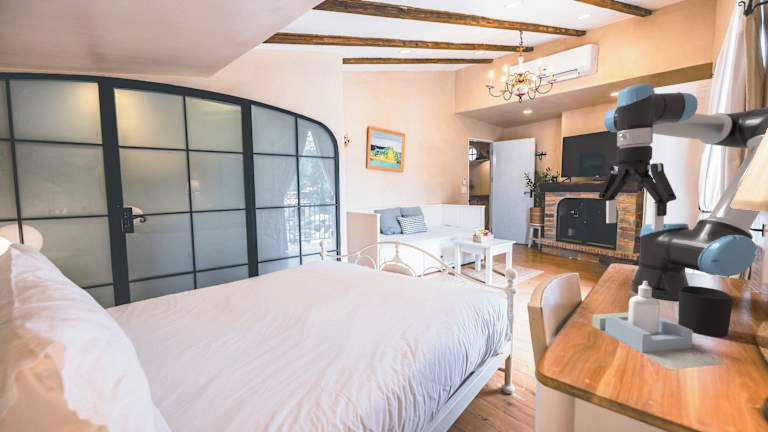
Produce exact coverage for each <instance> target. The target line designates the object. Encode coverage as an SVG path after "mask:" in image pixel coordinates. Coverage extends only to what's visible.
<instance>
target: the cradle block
mask: <svg viewBox="0 0 768 432" xmlns="http://www.w3.org/2000/svg"><path fill="white" fill-rule="evenodd" d="M606 332H607V335H608V334H610V335H609V336H614V339H615V338H617V340H621V341H623V342H624V343H626V344H627V345H628V346H629V347H630V348H631V347H632V348H635V349H637V350H638V352H639V351H640V352H642V353H643V352H650V353H651V352H652V351H653V352H655V351H656V352H658V351H659V352H660V351H662V352H664V350H669V351H670V350H671V351H672V350H674V349H675V350H676V349H678V350H679V349H686V348H687V349H688V348H690V349H691V348H692V345H693V344H692V343H693V330H691V329H688V328H686V327H683V326H681V325H679V323H676V322H674V321H671V320H669V319H667V318H664V317H662V316H660V315H659V329H658V333H657V334H651V333H649V332H647V331H645V330H643V329H640V328H638V327H636V326H634V325H632V324H630V323H628V320H622V319H620V318H618V317H616V316H614V315H611V316H606V324H605V333H606ZM623 342H622V343H623ZM624 343H623V344H624ZM637 350H636V351H637ZM675 350H674V351H675Z"/></svg>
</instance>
